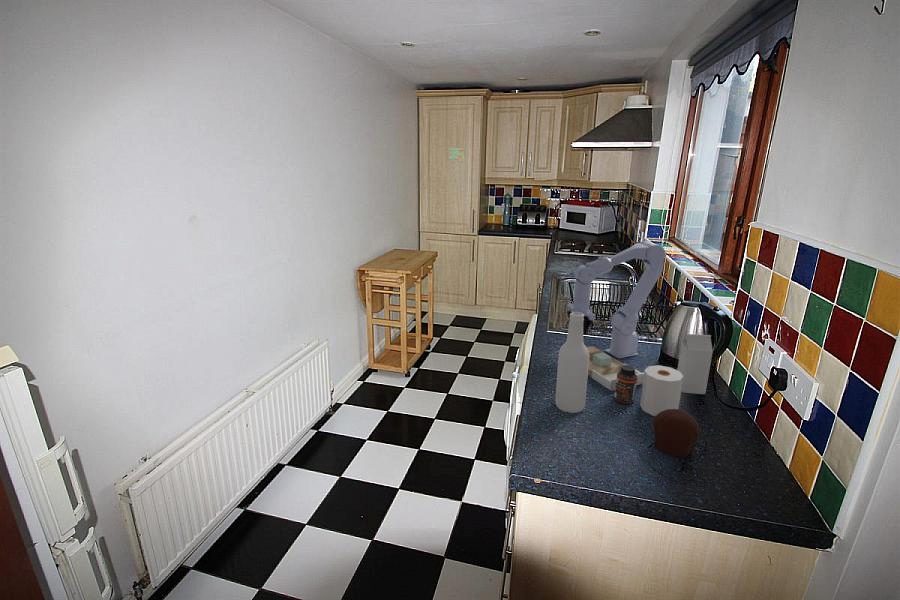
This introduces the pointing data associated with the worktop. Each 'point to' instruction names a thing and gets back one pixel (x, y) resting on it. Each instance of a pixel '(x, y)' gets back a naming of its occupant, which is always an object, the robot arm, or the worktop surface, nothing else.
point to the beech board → (605, 367)
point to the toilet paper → (660, 389)
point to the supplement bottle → (626, 385)
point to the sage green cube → (602, 359)
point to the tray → (613, 379)
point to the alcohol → (572, 368)
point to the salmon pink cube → (592, 352)
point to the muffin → (675, 432)
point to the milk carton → (695, 363)
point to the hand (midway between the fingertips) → (579, 332)
